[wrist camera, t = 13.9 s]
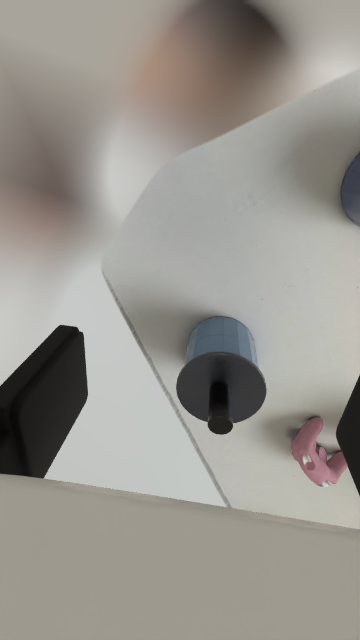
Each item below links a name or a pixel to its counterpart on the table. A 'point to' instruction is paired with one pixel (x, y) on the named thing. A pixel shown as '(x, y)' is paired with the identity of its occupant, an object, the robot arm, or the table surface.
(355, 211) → the container
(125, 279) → the table surface
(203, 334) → the pot
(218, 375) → the lid
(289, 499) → the table surface
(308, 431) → the video game controller
